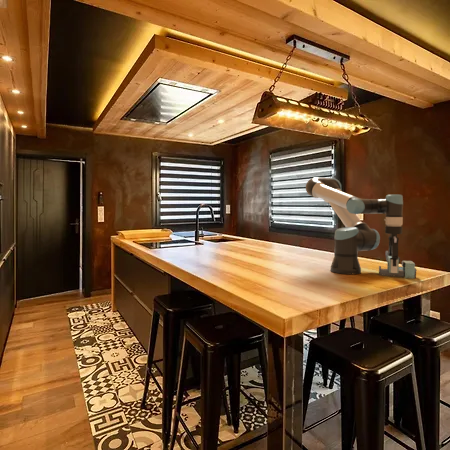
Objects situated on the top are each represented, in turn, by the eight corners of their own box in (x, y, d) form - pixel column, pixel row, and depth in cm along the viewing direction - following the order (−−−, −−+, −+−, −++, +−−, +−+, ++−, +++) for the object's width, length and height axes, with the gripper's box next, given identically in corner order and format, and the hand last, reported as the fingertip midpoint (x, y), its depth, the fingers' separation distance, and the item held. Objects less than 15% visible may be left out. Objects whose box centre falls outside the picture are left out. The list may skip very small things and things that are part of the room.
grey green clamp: (379, 276, 159) (380, 261, 159) (378, 273, 166) (378, 259, 166) (416, 278, 153) (417, 263, 153) (413, 275, 161) (414, 261, 160)
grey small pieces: (384, 249, 179) (414, 250, 175) (383, 269, 179) (413, 270, 176) (388, 251, 169) (420, 252, 165) (388, 272, 169) (419, 273, 166)
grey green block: (389, 272, 157) (389, 258, 157) (387, 269, 165) (387, 255, 164) (400, 273, 156) (400, 258, 155) (397, 270, 163) (398, 256, 163)
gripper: (383, 224, 170) (382, 267, 171) (387, 226, 151) (386, 274, 152) (399, 224, 168) (398, 268, 169) (405, 226, 148) (404, 275, 149)
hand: (392, 271), depth 160 cm, fingers closed on grey green block, 8 cm apart
